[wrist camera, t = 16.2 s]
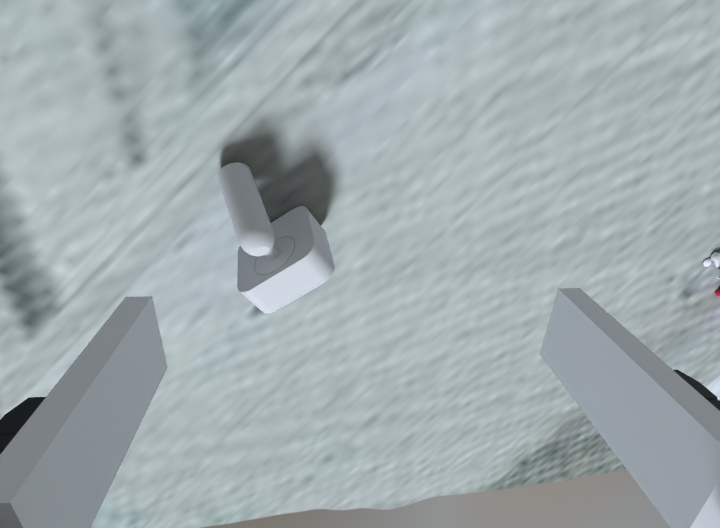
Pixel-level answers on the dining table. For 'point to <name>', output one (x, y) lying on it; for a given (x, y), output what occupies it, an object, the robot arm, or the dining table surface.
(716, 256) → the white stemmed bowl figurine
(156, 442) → the dining table surface
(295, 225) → the wall hook
